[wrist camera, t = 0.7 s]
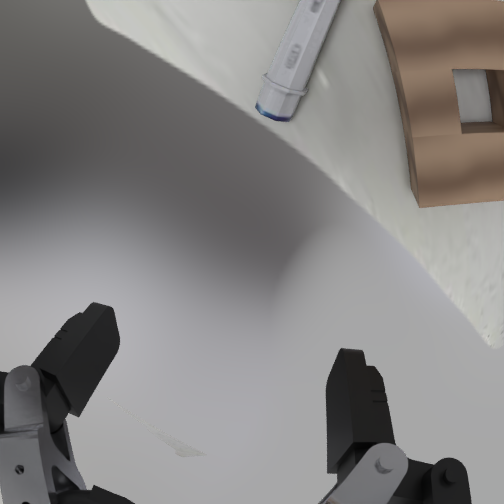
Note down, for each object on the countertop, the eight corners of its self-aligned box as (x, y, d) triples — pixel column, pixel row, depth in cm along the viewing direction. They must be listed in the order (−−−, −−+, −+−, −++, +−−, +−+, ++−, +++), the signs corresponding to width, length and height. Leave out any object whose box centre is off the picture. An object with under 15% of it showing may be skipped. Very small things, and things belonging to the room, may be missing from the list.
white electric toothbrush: (242, 108, 28) (332, -109, 9) (263, 93, 32) (339, -86, 14) (292, 129, 27) (392, -88, 9) (305, 112, 32) (388, -68, 14)
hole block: (372, 8, 21) (377, -2, 17) (505, 10, 14) (526, 5, 10) (411, 188, 30) (419, 208, 26) (526, 179, 24) (545, 197, 20)
